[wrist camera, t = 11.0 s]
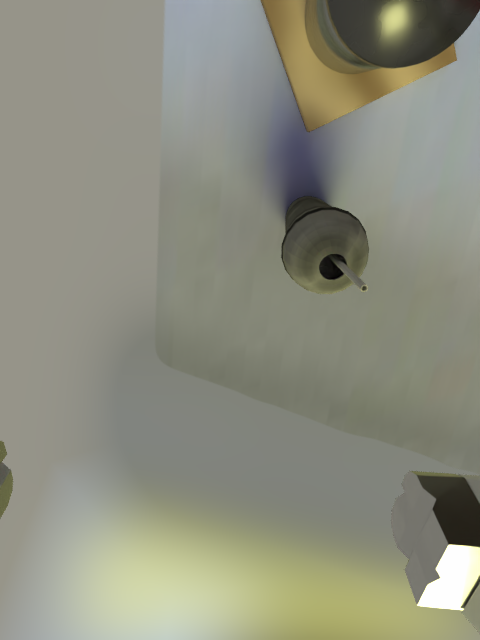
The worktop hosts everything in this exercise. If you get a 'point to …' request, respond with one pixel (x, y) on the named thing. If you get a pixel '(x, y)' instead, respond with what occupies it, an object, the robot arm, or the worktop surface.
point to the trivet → (322, 82)
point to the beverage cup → (324, 247)
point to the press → (384, 31)
